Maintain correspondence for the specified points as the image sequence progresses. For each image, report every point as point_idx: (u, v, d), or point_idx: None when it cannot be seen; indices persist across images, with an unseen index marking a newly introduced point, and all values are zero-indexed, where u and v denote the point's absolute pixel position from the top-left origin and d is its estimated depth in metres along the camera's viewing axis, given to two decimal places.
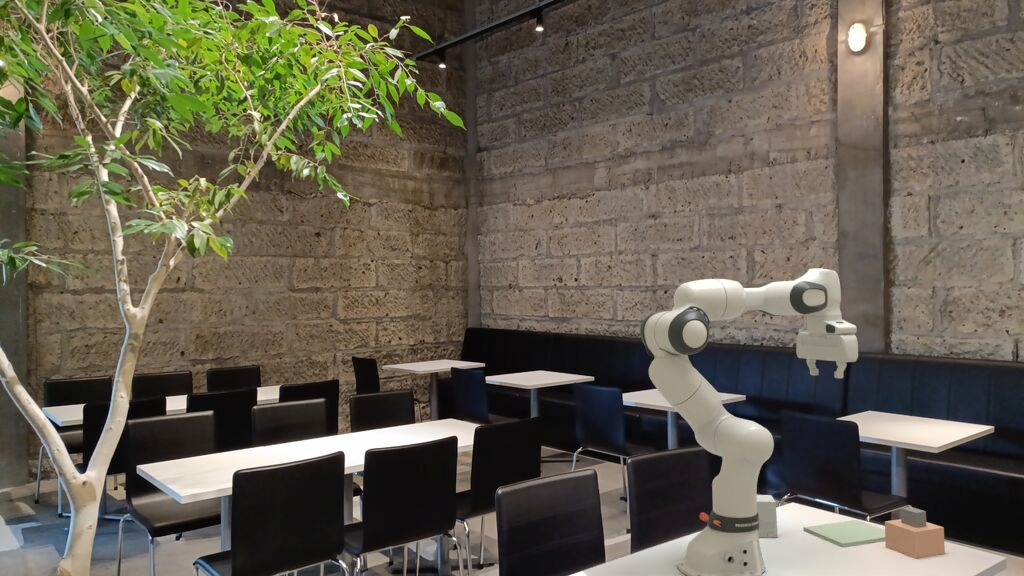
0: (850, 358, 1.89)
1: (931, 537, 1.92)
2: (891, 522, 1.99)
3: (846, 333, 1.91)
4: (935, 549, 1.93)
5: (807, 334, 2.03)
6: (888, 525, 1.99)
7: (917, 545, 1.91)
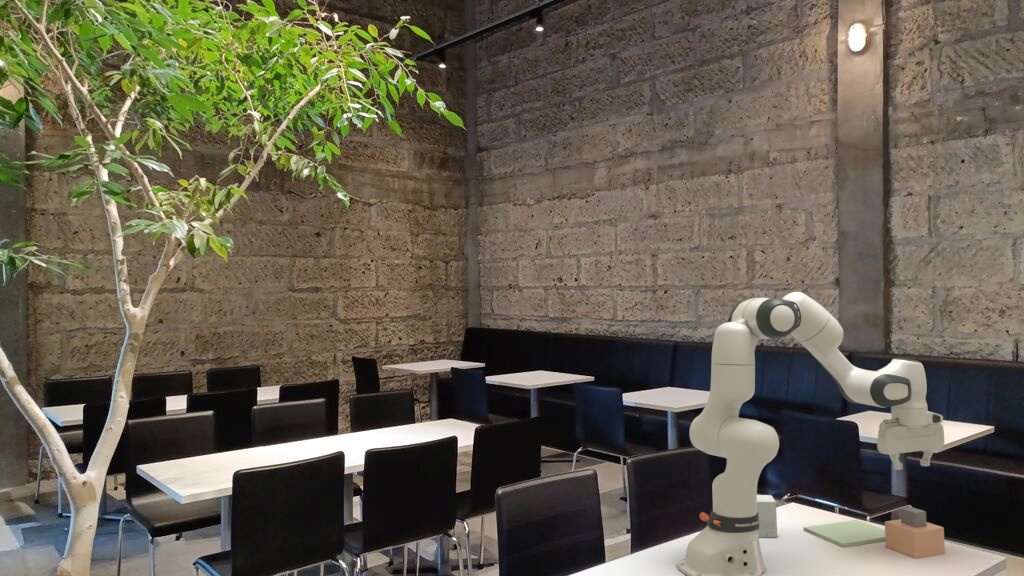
0: None
1: (931, 537, 1.92)
2: (891, 522, 1.99)
3: None
4: (935, 549, 1.93)
5: (901, 427, 1.95)
6: (888, 525, 1.99)
7: (917, 545, 1.91)
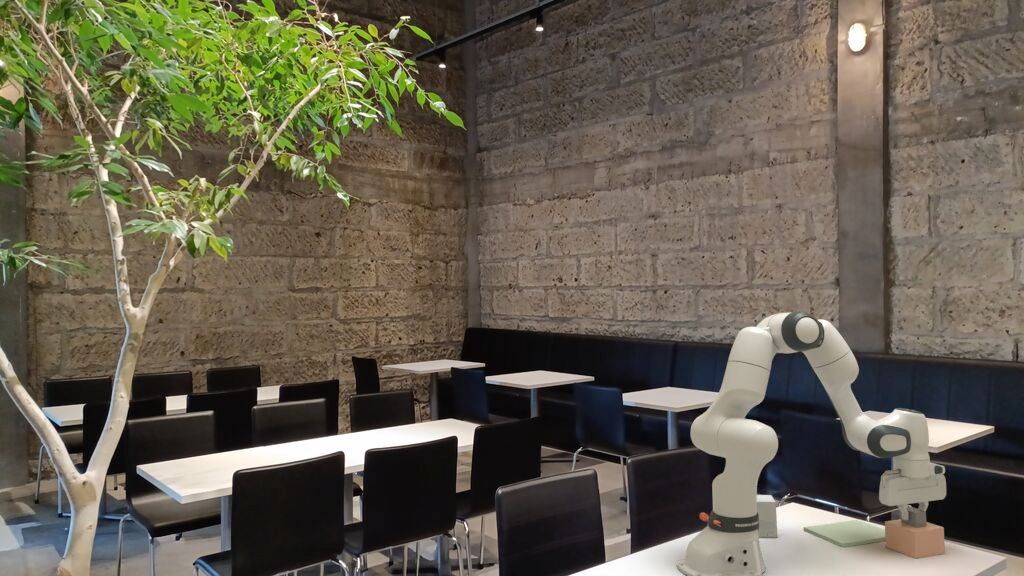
0: None
1: (931, 537, 1.92)
2: (891, 522, 1.99)
3: None
4: (935, 549, 1.93)
5: (903, 479, 1.94)
6: (888, 525, 1.99)
7: (917, 545, 1.91)
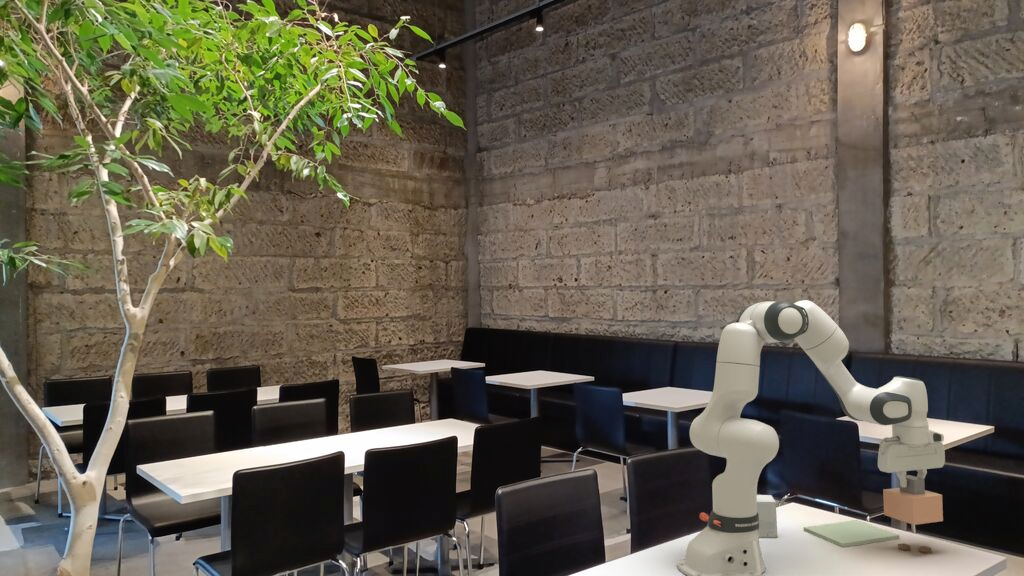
0: None
1: (929, 504, 1.93)
2: (889, 490, 1.99)
3: None
4: (933, 516, 1.93)
5: (901, 446, 1.94)
6: (886, 493, 1.99)
7: (915, 512, 1.91)
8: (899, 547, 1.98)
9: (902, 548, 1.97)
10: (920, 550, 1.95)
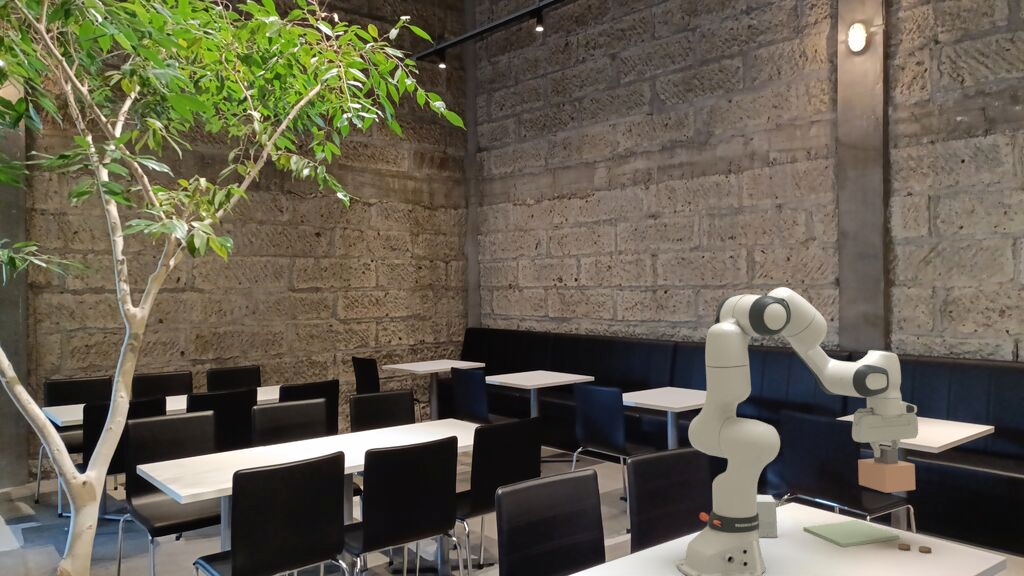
0: None
1: (901, 473, 1.98)
2: (864, 460, 2.05)
3: None
4: (906, 485, 1.98)
5: (875, 416, 2.00)
6: (861, 463, 2.05)
7: (888, 480, 1.97)
8: (899, 547, 1.98)
9: (902, 548, 1.97)
10: (920, 550, 1.95)
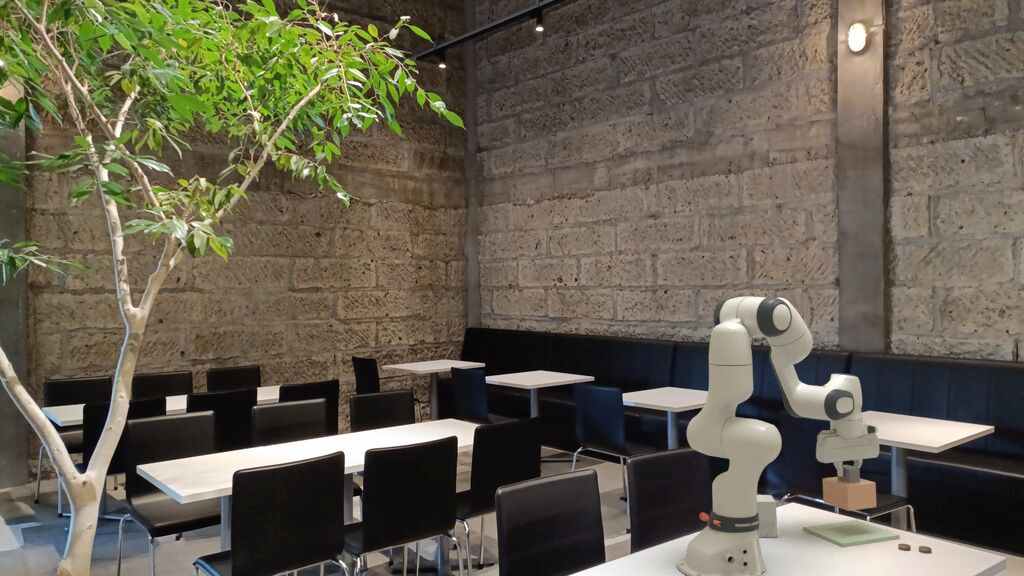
0: None
1: (863, 491, 2.07)
2: (828, 479, 2.14)
3: None
4: (867, 502, 2.07)
5: (837, 438, 2.09)
6: (825, 481, 2.14)
7: (850, 499, 2.06)
8: (899, 547, 1.98)
9: (902, 548, 1.97)
10: (920, 550, 1.95)
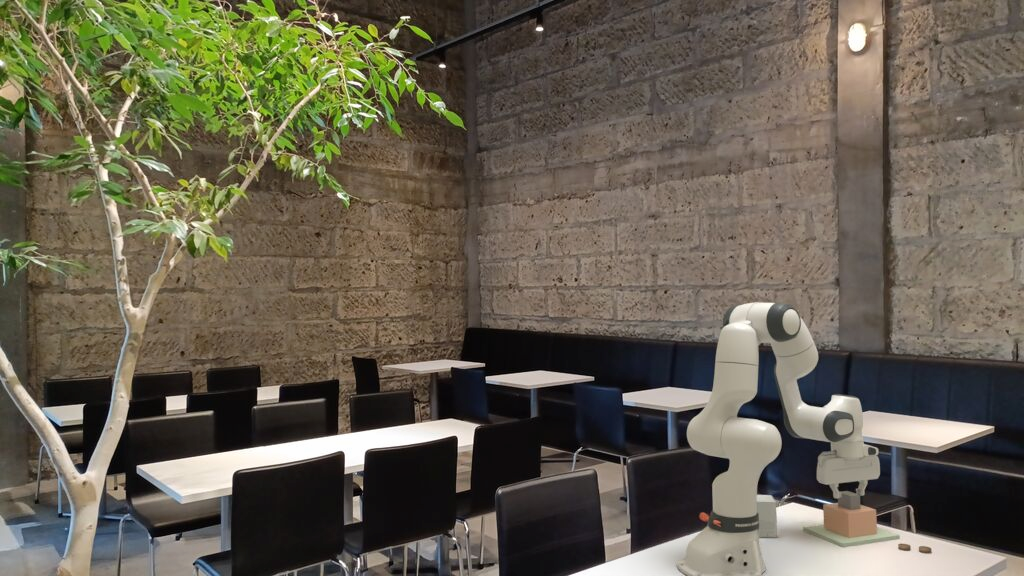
0: None
1: (863, 518, 2.07)
2: (829, 505, 2.14)
3: None
4: (868, 530, 2.07)
5: (838, 459, 2.09)
6: (826, 508, 2.13)
7: (850, 526, 2.05)
8: (899, 547, 1.98)
9: (903, 548, 1.97)
10: (920, 550, 1.95)
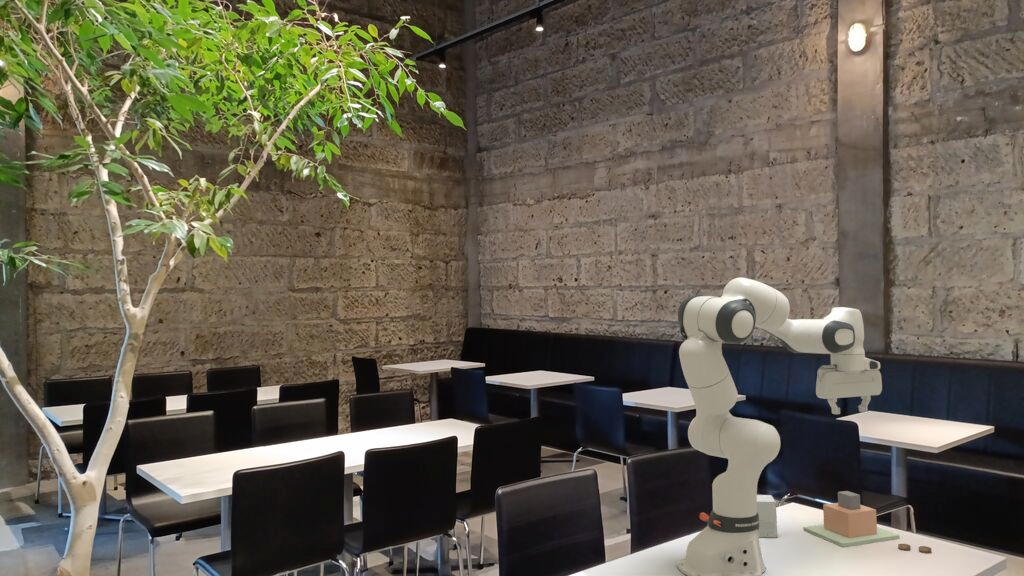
0: None
1: (863, 518, 2.07)
2: (829, 505, 2.14)
3: None
4: (868, 530, 2.07)
5: (838, 373, 2.00)
6: (826, 508, 2.13)
7: (850, 526, 2.05)
8: (899, 547, 1.98)
9: (903, 548, 1.97)
10: (920, 550, 1.95)
